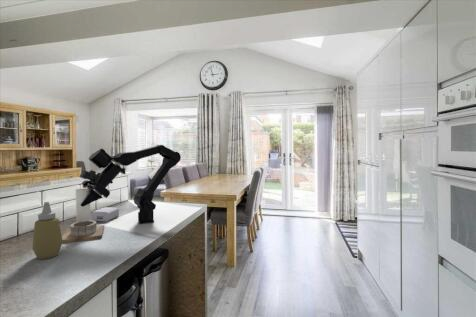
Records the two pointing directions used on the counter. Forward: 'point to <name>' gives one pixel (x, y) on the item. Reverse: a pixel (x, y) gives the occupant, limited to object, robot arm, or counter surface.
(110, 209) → the charger
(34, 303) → the counter surface
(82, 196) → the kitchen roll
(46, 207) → the squeeze bottle
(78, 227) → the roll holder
